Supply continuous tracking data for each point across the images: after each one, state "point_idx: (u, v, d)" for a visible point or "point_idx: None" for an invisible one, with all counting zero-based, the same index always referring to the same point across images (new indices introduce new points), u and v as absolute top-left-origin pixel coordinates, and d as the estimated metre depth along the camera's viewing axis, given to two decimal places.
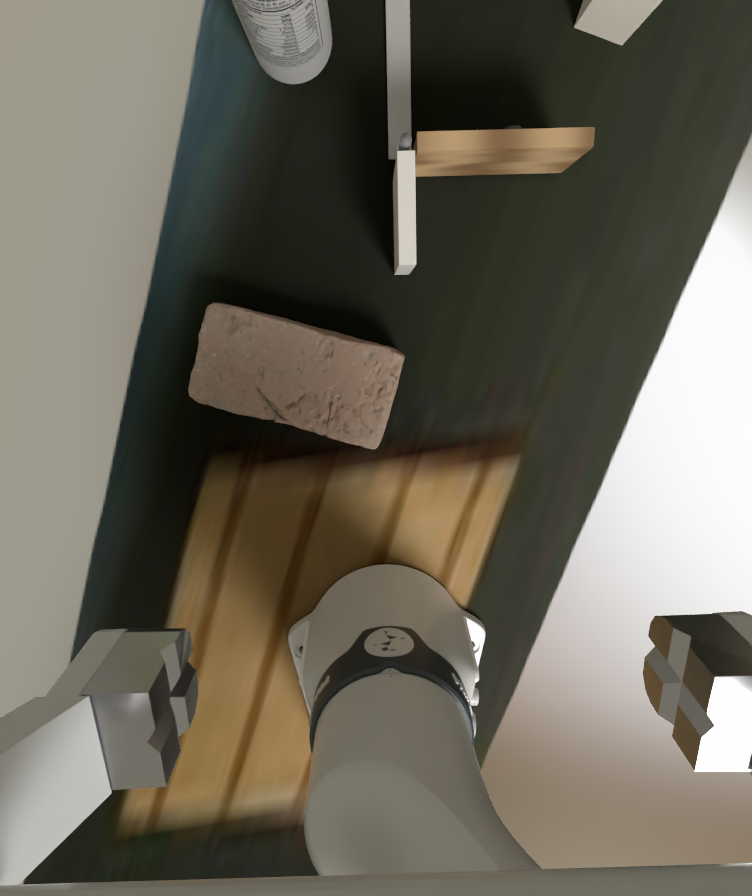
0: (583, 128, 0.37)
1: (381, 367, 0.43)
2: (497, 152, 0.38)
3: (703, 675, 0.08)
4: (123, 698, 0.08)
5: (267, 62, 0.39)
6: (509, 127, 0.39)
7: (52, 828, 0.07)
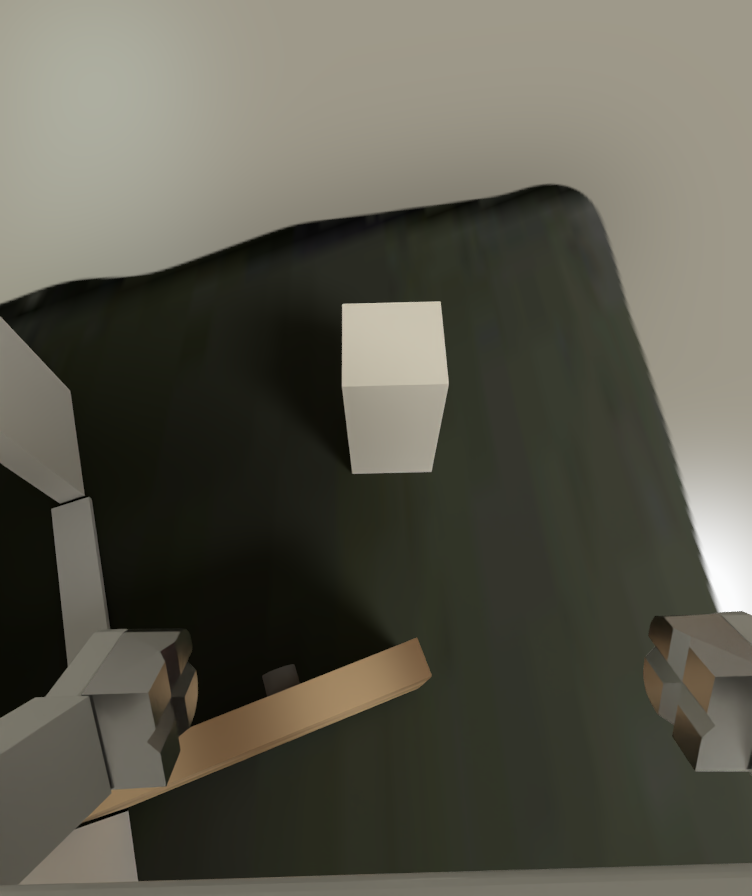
0: (395, 648, 0.17)
1: None
2: (236, 757, 0.17)
3: (703, 675, 0.08)
4: (123, 698, 0.08)
5: None
6: (266, 676, 0.19)
7: (52, 828, 0.07)
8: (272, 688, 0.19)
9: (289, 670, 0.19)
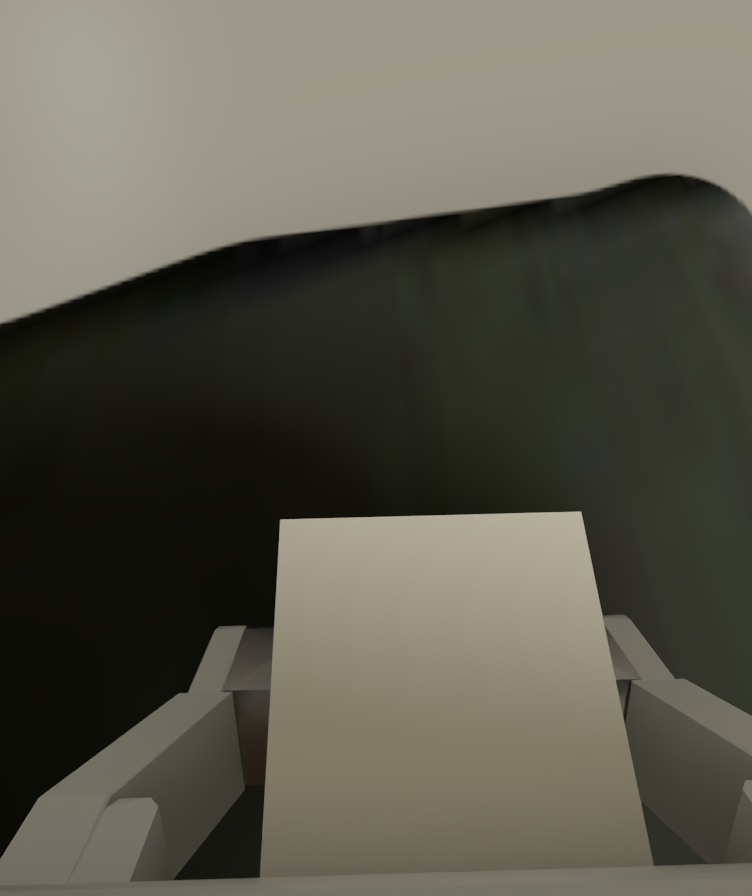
0: None
1: None
2: None
3: None
4: (263, 694, 0.08)
5: None
6: None
7: (200, 824, 0.07)
8: None
9: None
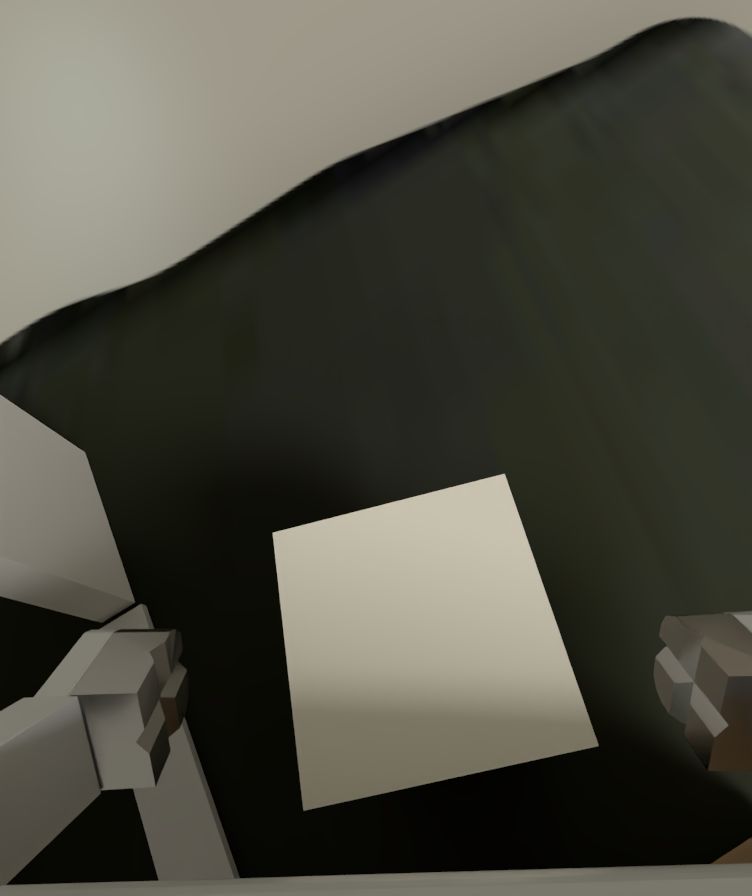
0: None
1: None
2: None
3: (716, 675, 0.08)
4: (111, 698, 0.08)
5: None
6: None
7: (40, 829, 0.07)
8: None
9: None
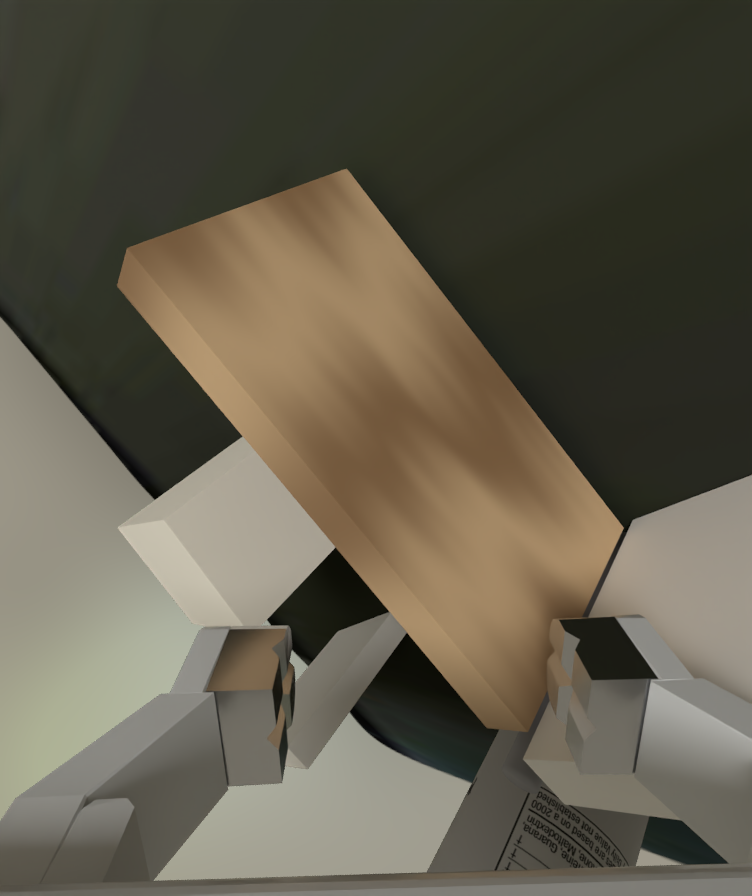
0: (143, 314, 0.11)
1: None
2: (375, 491, 0.11)
3: (585, 679, 0.08)
4: (245, 695, 0.08)
5: (632, 863, 0.19)
6: None
7: (181, 824, 0.07)
8: None
9: None
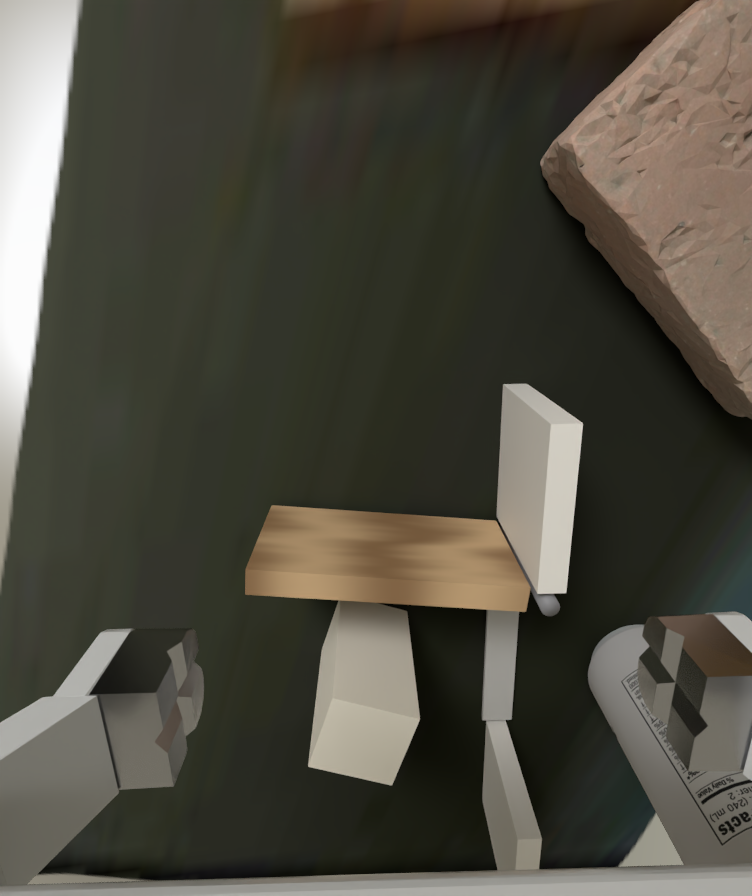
0: (263, 594, 0.23)
1: (619, 143, 0.20)
2: (397, 568, 0.24)
3: (696, 675, 0.08)
4: (131, 698, 0.08)
5: None
6: None
7: (60, 828, 0.07)
8: None
9: None
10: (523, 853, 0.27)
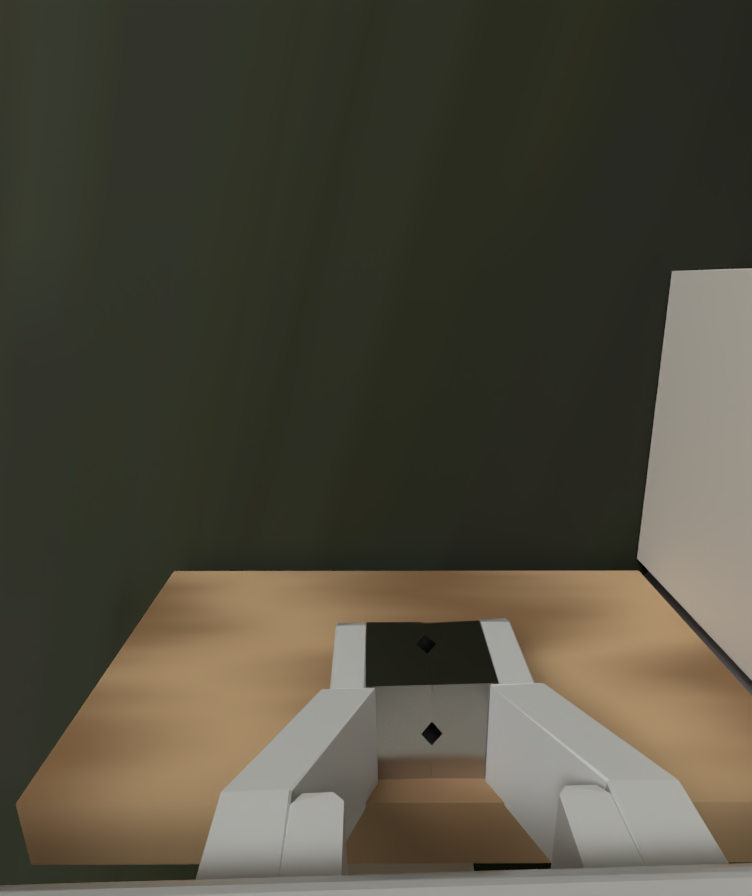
0: (81, 860, 0.08)
1: None
2: None
3: None
4: (403, 690, 0.08)
5: None
6: None
7: (347, 819, 0.07)
8: None
9: None
10: None
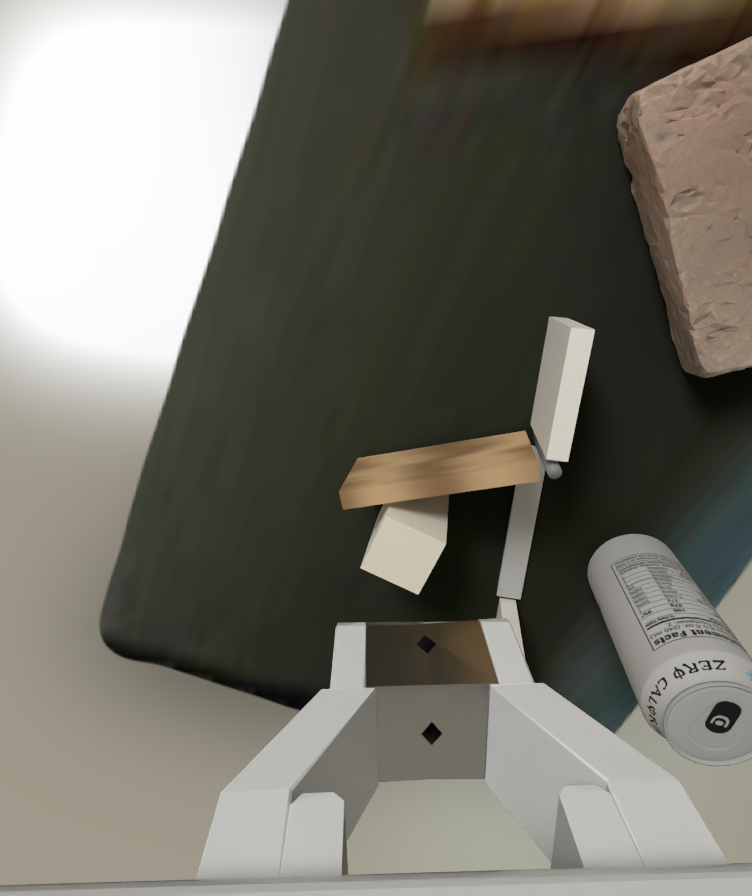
0: (354, 506, 0.34)
1: (673, 108, 0.28)
2: (441, 471, 0.33)
3: None
4: (403, 690, 0.08)
5: (676, 561, 0.35)
6: None
7: (347, 819, 0.07)
8: None
9: None
10: None
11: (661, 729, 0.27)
